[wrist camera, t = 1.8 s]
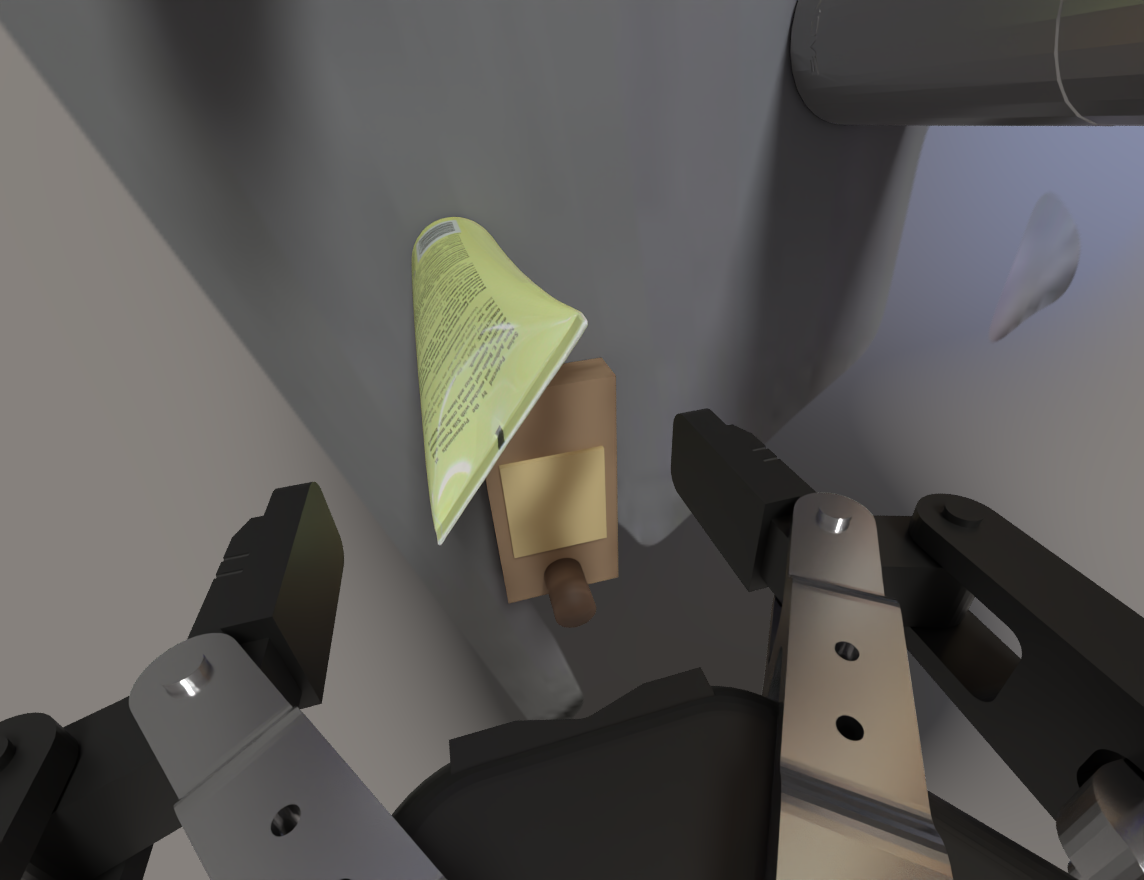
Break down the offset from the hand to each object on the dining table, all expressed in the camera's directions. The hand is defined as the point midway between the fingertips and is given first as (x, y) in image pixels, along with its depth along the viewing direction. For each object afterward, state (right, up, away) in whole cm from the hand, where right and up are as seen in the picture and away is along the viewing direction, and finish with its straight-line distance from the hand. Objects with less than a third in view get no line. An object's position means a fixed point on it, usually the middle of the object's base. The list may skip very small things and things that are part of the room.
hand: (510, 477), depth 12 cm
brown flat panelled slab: (0, -2, +27) cm, 27 cm away
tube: (-5, +11, +18) cm, 21 cm away
